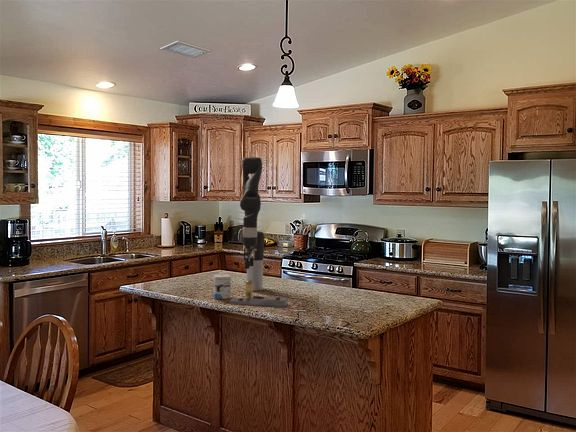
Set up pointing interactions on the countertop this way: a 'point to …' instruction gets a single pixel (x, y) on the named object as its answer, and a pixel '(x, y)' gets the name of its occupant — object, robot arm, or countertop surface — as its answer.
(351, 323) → the countertop surface
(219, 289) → the ink box
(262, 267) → the robot arm
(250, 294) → the link pin
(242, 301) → the link plates
